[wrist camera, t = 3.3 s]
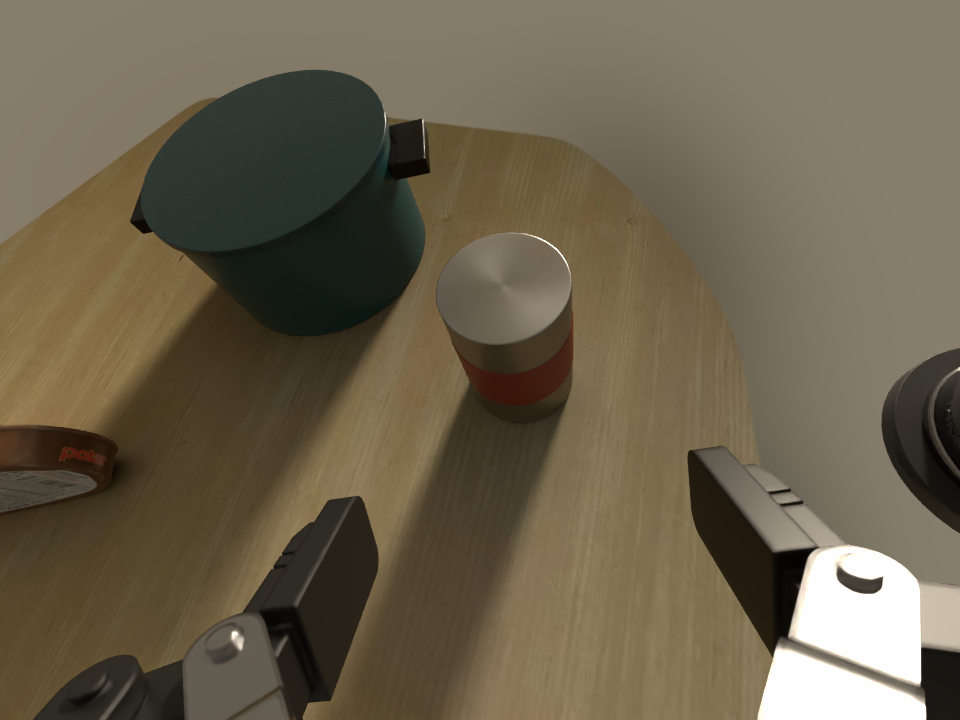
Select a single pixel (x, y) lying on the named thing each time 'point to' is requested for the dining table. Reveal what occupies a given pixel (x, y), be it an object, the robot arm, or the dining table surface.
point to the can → (511, 323)
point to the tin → (51, 465)
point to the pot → (294, 199)
